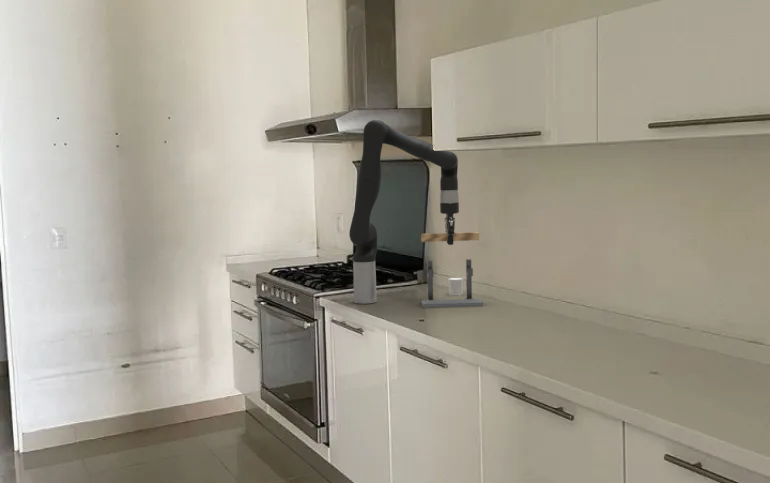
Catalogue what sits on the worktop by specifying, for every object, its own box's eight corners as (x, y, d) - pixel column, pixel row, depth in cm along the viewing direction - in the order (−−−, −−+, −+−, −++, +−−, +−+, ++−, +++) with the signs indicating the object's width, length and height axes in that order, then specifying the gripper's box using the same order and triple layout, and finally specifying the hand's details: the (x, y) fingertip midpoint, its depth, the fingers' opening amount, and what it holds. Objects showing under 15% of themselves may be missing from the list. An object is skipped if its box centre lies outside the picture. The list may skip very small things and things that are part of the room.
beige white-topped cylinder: (466, 295, 327) (465, 279, 326) (450, 296, 325) (450, 280, 324) (460, 292, 333) (460, 277, 333) (446, 293, 332) (445, 277, 331)
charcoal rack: (427, 303, 309) (426, 262, 308) (426, 301, 315) (426, 260, 314) (474, 302, 309) (473, 261, 308) (472, 299, 316) (472, 259, 314)
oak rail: (422, 241, 306) (421, 234, 305) (421, 241, 309) (421, 233, 308) (479, 240, 306) (478, 232, 306) (477, 239, 309) (477, 232, 309)
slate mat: (422, 307, 301) (422, 304, 301) (421, 304, 309) (421, 300, 309) (483, 306, 301) (483, 302, 301) (480, 302, 309) (480, 298, 309)
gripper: (438, 200, 313) (439, 242, 314) (441, 202, 299) (442, 246, 301) (456, 200, 313) (457, 242, 315) (460, 202, 299) (461, 245, 301)
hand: (450, 244), depth 308 cm, fingers closed on oak rail, 3 cm apart
